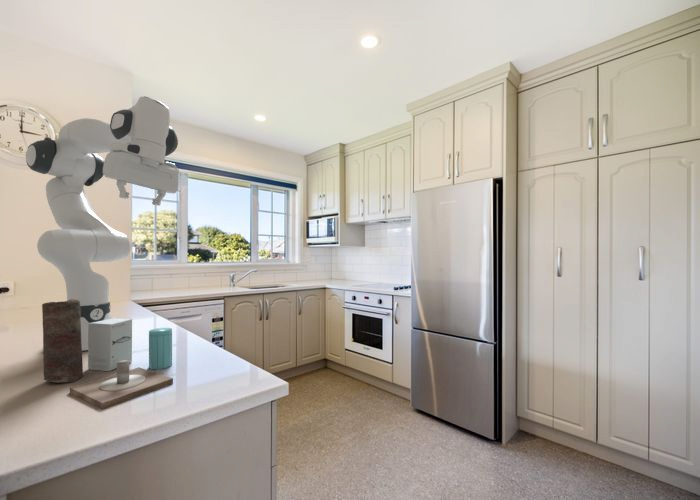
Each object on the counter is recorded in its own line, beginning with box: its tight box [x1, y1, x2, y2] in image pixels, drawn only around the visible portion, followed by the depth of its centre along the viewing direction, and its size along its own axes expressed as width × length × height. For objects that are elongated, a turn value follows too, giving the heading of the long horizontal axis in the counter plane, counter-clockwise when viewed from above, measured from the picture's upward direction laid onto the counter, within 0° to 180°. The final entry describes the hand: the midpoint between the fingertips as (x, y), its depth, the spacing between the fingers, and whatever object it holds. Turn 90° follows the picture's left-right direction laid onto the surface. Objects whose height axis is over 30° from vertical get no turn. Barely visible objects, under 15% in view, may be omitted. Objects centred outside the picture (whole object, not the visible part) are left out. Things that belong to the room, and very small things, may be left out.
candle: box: [41, 299, 84, 384], centre depth 83 cm, size 8×7×20 cm
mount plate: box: [69, 360, 174, 409], centre depth 78 cm, size 15×15×6 cm
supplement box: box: [87, 317, 133, 372], centre depth 93 cm, size 7×7×13 cm
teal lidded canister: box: [148, 327, 173, 370], centre depth 93 cm, size 6×6×10 cm
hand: (140, 201), depth 96 cm, fingers open, 8 cm apart
